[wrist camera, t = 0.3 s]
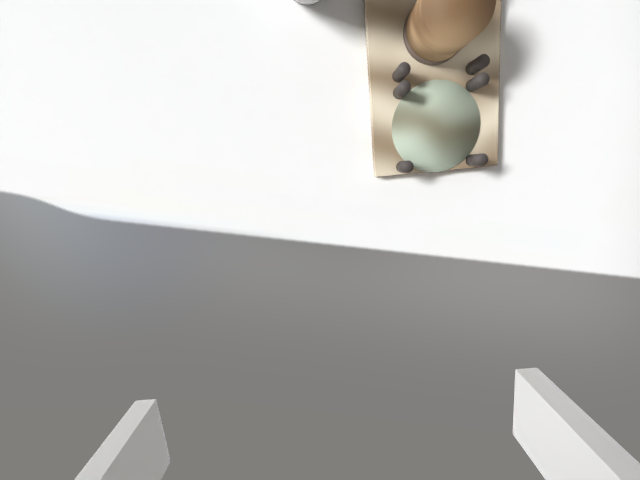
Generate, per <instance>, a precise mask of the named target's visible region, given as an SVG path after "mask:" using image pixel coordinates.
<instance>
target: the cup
mask: <svg viewBox="0 0 640 480" xmlns="http://www.w3.org/2000/svg"><path fill="white" fill-rule="evenodd" d="M294 1H296V2H298V3H301V4H307V5H308V4H314V3H316V2H318V1H320V0H294Z"/></svg>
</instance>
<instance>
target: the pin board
mask: <svg viewBox="0 0 640 480" xmlns="http://www.w3.org/2000/svg"><path fill="white" fill-rule="evenodd" d="M416 1H417V0H364V7H365V24H366V42H367V59H368V77H369V95H370V112H371V130H372V147H373V165H374V177H379V176H389V175H400V174H411V173H421V172H440V171H445V170H453V169H464V168H474V167H485V166H495V165H497V161H498V114H499V68H500V21H501V0H496V6H495V10H494V14H493V16H492V18H491V21H490V22H489V24H488V25H487V27H486V28H485V29H484V30H483V31H482V32H481V33H480V34H479V35H478V36H477V37H476V38H474V39H473V40H472V41H471V42H469V43H468V44H467V45H466V46H465V47H463V48H462V49H461V50H460V51H459V52H458V53H457V54H456V55H455V56H453V57H452V58H451V59H450V60H448V61H447V62H445V63H442V64H439V65H425V64H422V63H419V62H418V61H416V60H415V59H414V58H413V57H412V56H411V55H410V54H409V52H408V51H407V49H406V46H405V44H404V39H403V29H404V24H405V20H406V18H407V16H408V14H409V12H410V10H411V9H412V7H413V6H414V4H415V3H416Z"/></svg>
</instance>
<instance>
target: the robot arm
mask: <svg viewBox="0 0 640 480" xmlns="http://www.w3.org/2000/svg"><path fill="white" fill-rule="evenodd" d="M513 418H514V419H513V435H514V436H515V438H516V439H517V440H518V442H519V443H520V445H521V446H522V447H523V449H524V450H525V452H526V453H527V454H528V456H529V457H530V459H531V460H532V461H533V463H534V464H535V466H536V467H537V468H538V470H539V471H540V472H541V474H542V475H543V477H544V478H545V479H546V480H640V464H639V463H638V462H637V461H636V460H635V459H634V458H633V457H632V456H631V455H630V454H629V453H628V452H627V451H626V450H624V449H623V448H622V447H621V446H620V445H619V444H618V443H617V442H616V441H615V440H614V439H613V438H611V436H610V435H608V434H607V433H606V432H605V431H604V430H603V429H602V428H601V427H600V426H599V425H598V424H597V423H596V422H594V421H593V420H592V419H591V418H590V417H589V416H588V415H587V414H586V413H585V412H584V411H583V410H582V409H581V408H579V407H578V406H577V405H576V404H575V403H574V402H573V401H572V400H571V399H570V398H569V397H568V396H567V395H566V394H565V393H564V392H562V391H561V390H560V389H559V388H558V387H557V386H556V385H555V384H554V383H553V382H552V381H551V380H550V379H548V378H547V377H546V376H545V375H544V374H543V373H542V372H541V371H540V370H539V369H538V368H528V369H516V371H515V395H514V417H513ZM169 463H170V457H169V453H168V449H167V444H166V439H165V435H164V431H163V427H162V423H161V418H160V414H159V409H158V405H157V401H156V399H153V400H140V401H135V402H134V404H133V405H132V406H131V407H130V409H129V410H128V411H127V413H126V414H125V415H124V417H123V418H122V419H121V421H120V422H119V423H118V424H117V426H116V427H115V428H114V430H113V431H112V432H111V433H110V435H109V436H108V437H107V438H106V440H105V441H104V442H103V443H102V445H101V446H100V447H99V449H98V450H97V451H96V453H95V454H94V455H93V456H92V458H91V459H90V460H89V462H88V463H87V464H86V465H85V467H84V468H83V469H82V471H81V472H80V473H79V474H78V476H77V477H76V478H75V480H161V479H162V477H163V475H164V473H165V471H166V469H167V467H168V465H169Z"/></svg>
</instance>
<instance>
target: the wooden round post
mask: <svg viewBox="0 0 640 480" xmlns="http://www.w3.org/2000/svg"><path fill="white" fill-rule="evenodd" d="M495 6H496V0H417V1H416V3H415V4H414V6H413V7H412V9H411V10H410V12H409V14H408V16H407V18H406V20H405V24H404V29H403V39H404V44H405V46H406V49H407V51H408V52H409V54H410V55H411V56H412V57H413V58H414V59H415V60H416V61H418V62H419V63H422V64H425V65H439V64H442V63H445V62H447V61H448V60H450V59H451V58H452V57H453V56H455V55H456V54H457V53H458V52H459V51H460V50H461V49H462V48H463V47H465V46H466V45H467V44H468V43H469V42H471V41H472V40H473V39H474V38H476V37H477V36H478V35H479V34H480V33H481V32H482V31H483V30H484V29H485V28H486V27H487V25H488V24H489V22H490V21H491V18H492V16H493V14H494V10H495Z"/></svg>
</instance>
